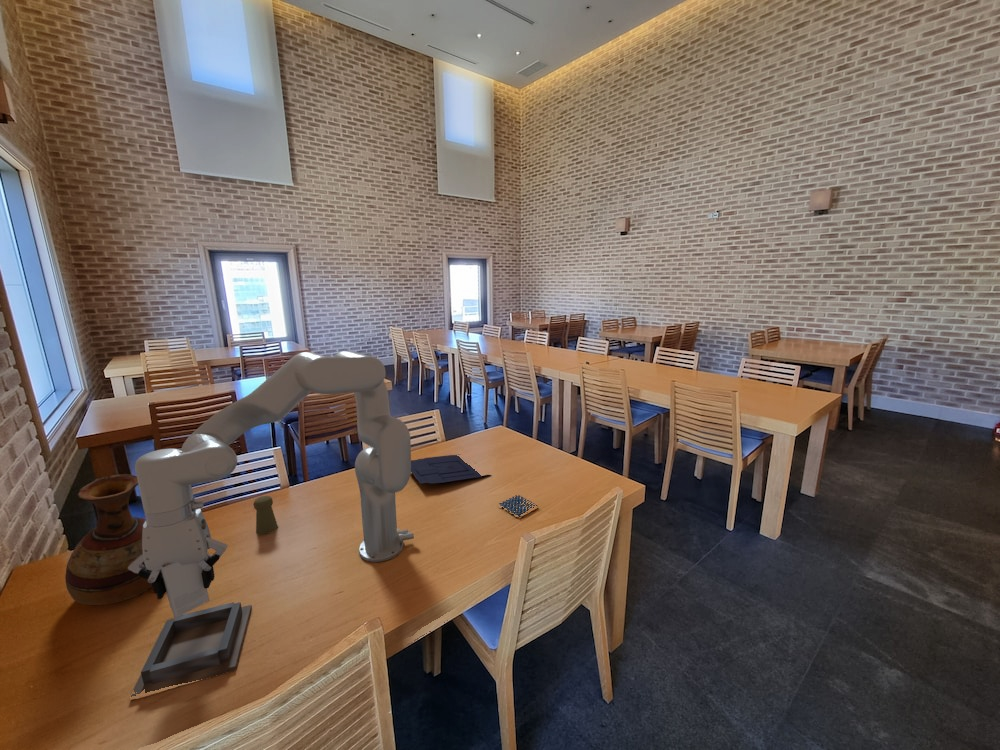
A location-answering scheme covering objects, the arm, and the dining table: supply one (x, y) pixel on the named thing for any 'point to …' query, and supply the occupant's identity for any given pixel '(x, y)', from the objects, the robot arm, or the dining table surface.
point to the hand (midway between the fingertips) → (186, 588)
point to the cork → (264, 516)
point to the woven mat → (516, 505)
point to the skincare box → (184, 587)
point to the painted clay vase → (108, 546)
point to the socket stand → (195, 647)
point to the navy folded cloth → (442, 469)
